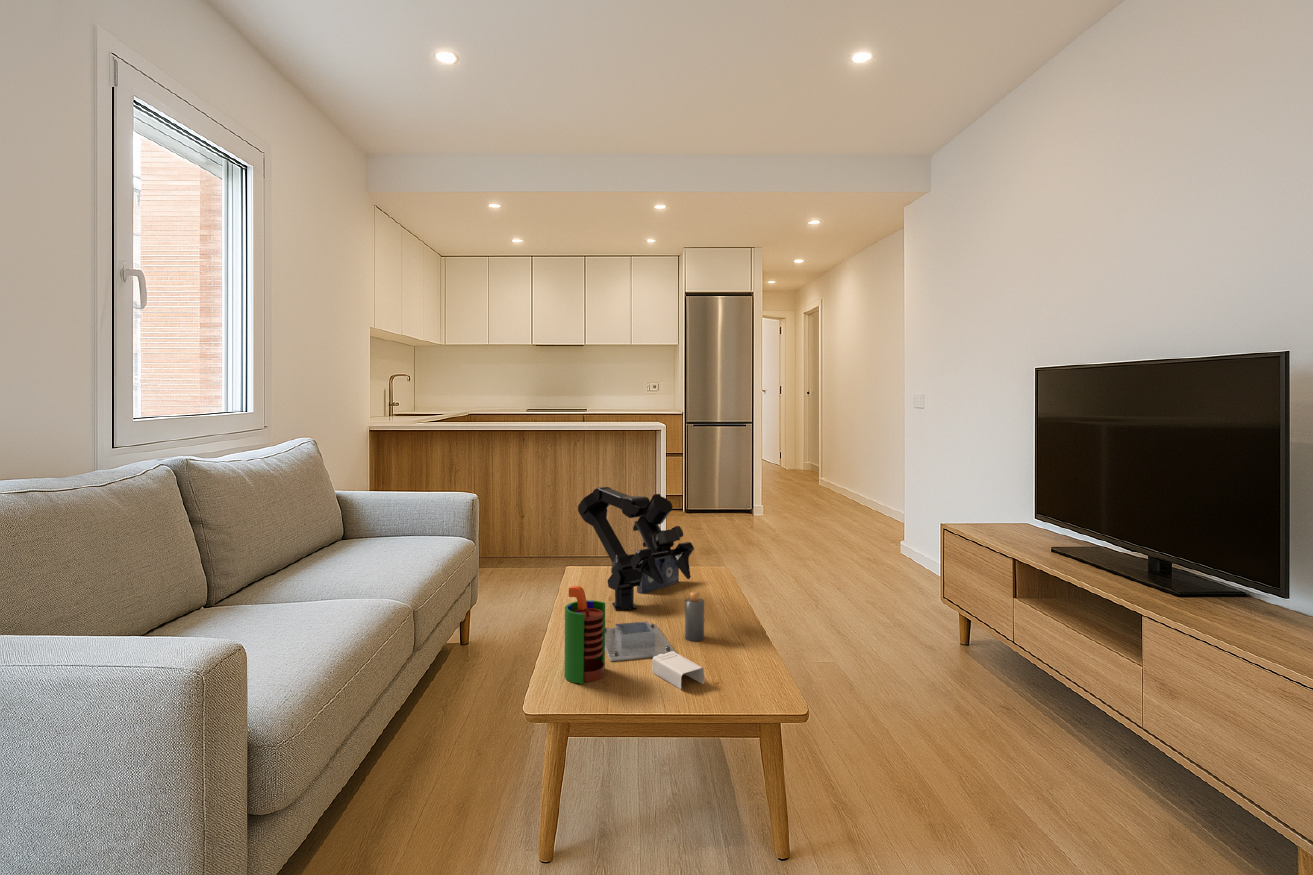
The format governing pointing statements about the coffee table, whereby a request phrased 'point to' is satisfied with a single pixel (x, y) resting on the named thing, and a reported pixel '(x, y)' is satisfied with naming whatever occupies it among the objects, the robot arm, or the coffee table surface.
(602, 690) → the coffee table surface
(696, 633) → the grey and orange piece
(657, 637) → the pump mount
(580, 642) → the motor
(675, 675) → the white plastic end cap
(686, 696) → the coffee table surface
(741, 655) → the coffee table surface
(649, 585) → the vhs cassette tape
